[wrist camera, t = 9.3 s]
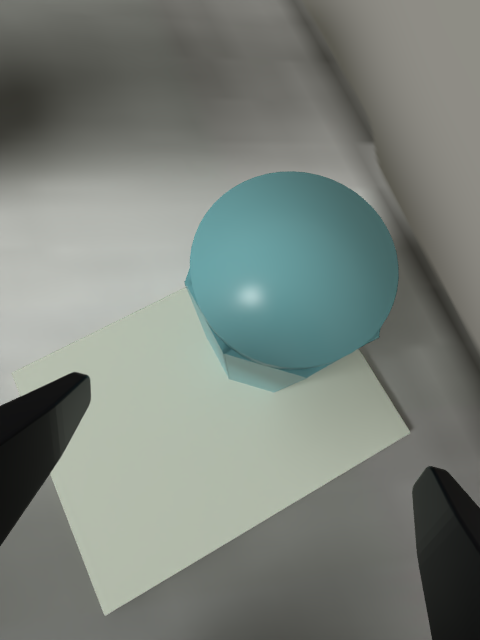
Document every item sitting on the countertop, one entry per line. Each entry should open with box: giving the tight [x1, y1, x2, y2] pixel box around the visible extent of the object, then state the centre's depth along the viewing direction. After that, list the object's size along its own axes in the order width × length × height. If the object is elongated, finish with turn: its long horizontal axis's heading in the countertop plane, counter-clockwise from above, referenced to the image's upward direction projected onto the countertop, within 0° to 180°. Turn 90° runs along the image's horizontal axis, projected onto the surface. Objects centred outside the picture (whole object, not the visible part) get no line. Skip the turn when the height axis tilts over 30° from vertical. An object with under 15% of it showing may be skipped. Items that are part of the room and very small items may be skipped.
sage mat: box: [12, 287, 410, 616], centre depth 21 cm, size 19×14×1 cm
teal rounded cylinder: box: [185, 172, 399, 392], centre depth 17 cm, size 7×7×11 cm
